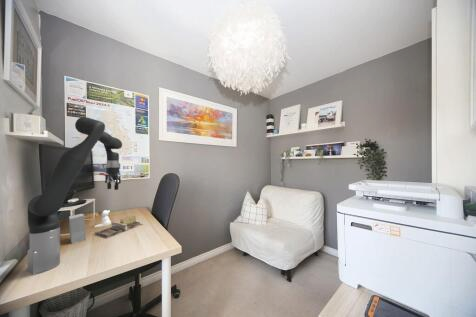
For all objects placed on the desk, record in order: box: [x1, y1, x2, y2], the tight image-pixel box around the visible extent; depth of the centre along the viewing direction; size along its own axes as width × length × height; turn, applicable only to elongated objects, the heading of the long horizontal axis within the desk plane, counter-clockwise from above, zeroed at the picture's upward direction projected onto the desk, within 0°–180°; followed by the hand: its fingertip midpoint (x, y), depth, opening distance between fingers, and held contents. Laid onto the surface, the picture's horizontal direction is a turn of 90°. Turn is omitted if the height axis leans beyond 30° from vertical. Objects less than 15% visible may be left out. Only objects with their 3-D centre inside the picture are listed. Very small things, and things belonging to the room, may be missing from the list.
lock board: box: [91, 221, 144, 240], centre depth 117 cm, size 25×16×5 cm, turn 157°
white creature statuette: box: [94, 209, 112, 228], centre depth 126 cm, size 10×9×12 cm
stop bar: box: [119, 215, 137, 227], centre depth 123 cm, size 9×4×6 cm, turn 157°
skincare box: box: [68, 213, 87, 245], centre depth 102 cm, size 8×7×16 cm
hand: (112, 189), depth 120 cm, fingers open, 8 cm apart
